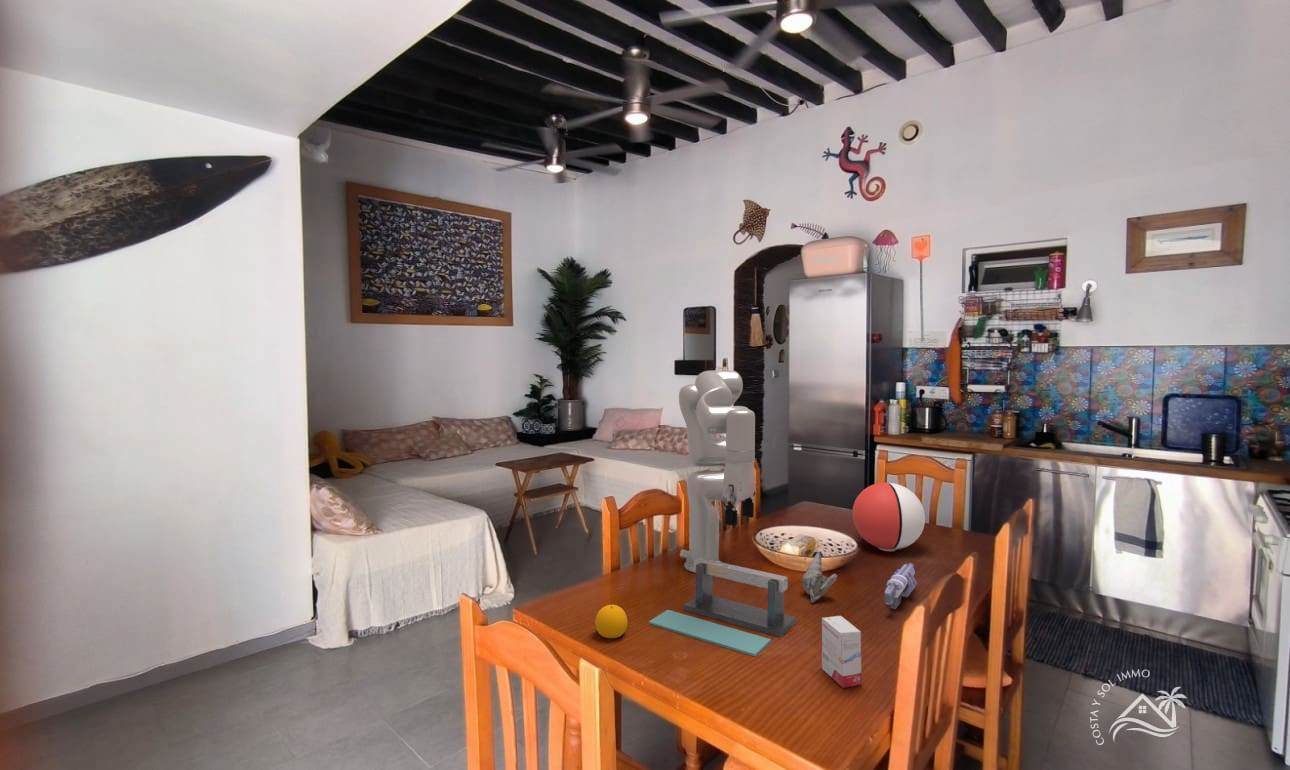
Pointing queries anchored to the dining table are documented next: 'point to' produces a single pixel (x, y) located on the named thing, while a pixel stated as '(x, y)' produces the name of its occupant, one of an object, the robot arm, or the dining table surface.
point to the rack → (740, 608)
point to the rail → (741, 574)
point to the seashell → (816, 579)
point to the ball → (888, 516)
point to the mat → (711, 632)
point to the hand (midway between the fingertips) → (739, 520)
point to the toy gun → (900, 585)
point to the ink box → (841, 651)
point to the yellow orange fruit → (611, 621)
